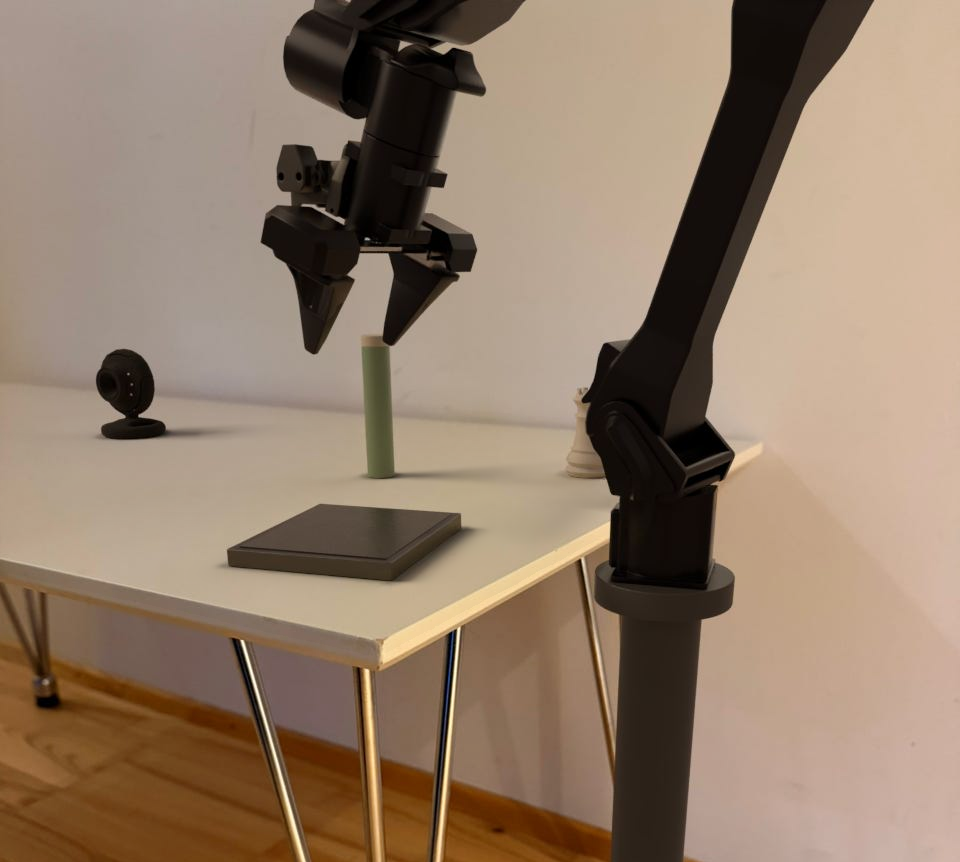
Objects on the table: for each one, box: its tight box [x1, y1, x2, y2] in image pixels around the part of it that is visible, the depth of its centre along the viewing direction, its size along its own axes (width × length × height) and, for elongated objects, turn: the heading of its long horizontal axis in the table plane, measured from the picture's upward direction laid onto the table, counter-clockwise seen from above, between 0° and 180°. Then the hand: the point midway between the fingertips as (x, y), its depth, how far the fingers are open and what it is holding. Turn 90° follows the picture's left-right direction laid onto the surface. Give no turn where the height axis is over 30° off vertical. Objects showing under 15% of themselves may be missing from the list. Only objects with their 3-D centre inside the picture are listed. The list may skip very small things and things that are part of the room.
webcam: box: [95, 348, 167, 440], centre depth 118 cm, size 8×8×10 cm
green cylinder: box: [360, 333, 396, 479], centre depth 92 cm, size 3×3×13 cm
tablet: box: [226, 503, 462, 581], centre depth 71 cm, size 12×14×1 cm
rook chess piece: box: [564, 386, 606, 479], centre depth 93 cm, size 4×4×8 cm
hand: (350, 347), depth 79 cm, fingers open, 9 cm apart
